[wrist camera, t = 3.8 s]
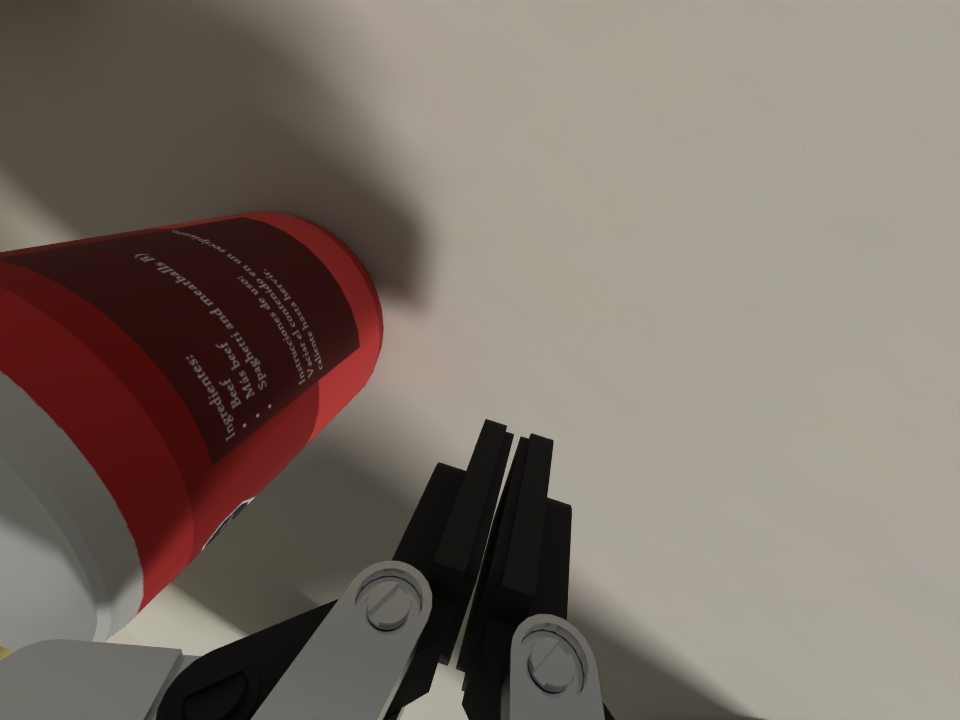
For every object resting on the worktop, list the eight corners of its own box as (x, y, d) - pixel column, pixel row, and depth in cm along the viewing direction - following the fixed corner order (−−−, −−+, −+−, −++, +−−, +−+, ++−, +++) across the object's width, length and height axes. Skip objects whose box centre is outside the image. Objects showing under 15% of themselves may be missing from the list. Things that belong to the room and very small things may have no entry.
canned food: (222, 371, 19) (-148, 585, 10) (206, 183, 16) (-414, 230, 6) (380, 423, 19) (144, 716, 9) (402, 237, 15) (37, 391, 5)
